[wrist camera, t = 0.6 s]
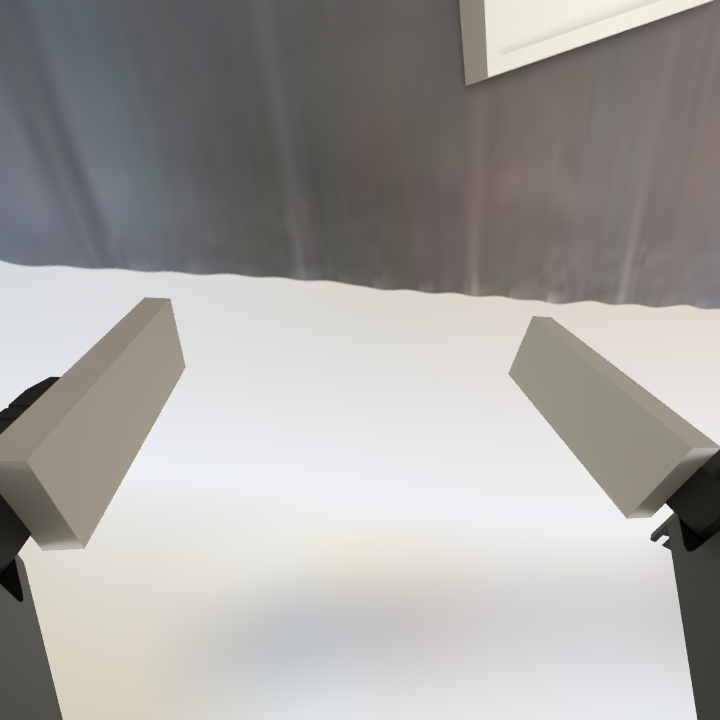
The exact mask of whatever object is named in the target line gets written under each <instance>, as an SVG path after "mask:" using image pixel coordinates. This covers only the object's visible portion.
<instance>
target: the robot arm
mask: <svg viewBox="0 0 720 720" xmlns="http://www.w3.org/2000/svg"><path fill="white" fill-rule="evenodd" d="M184 369H185V364H184V359H183V354H182V350H181V345H180V341H179V336H178V331H177V327H176V322H175V318H174V313H173V309H172V304H171V300H170V299H165V298H144V299H143V300H142V301H141V302H140V303H139V304H138V305H137V306H136V307H135V308H133V309H132V310H131V311H130V312H129V313H128V314H127V315H126V316H125V317H124V318H123V319H122V320H121V321H120V322H119V323H118V324H117V325H116V326H114V327H113V328H112V329H111V330H110V331H109V332H108V333H107V334H106V335H105V336H104V337H103V338H102V339H101V340H100V341H99V342H98V343H97V344H95V345H94V346H93V347H92V348H91V349H90V350H89V351H88V352H87V353H86V354H85V355H84V356H83V357H82V358H81V359H80V360H79V361H78V362H77V363H75V364H74V365H73V366H72V368H70V369H69V370H68V371H67V372H66V373H65V374H64V375H63V376H62V377H49V378H47V379H46V380H44V381H42V382H40V383H38V384H36V385H34V386H32V387H30V388H29V389H27V390H25V391H24V392H23V393H22V394H21V395H20V396H18V397H17V398H16V399H15V400H14V401H13V402H12V403H11V404H9V407H8V408H5V409H4V410H3V411H1V412H0V720H63V719H62V715H61V711H60V707H59V703H58V699H57V695H56V691H55V687H54V683H53V679H52V675H51V671H50V666H49V662H48V658H47V654H46V650H45V646H44V642H43V638H42V634H41V630H40V626H39V622H38V618H37V614H36V610H35V606H34V602H33V598H32V594H31V590H30V585H29V581H28V578H27V574H26V569H25V565H24V562H23V561H22V559H20V557H19V555H18V552H19V551H20V549H21V548H22V546H23V545H24V544H25V542H26V541H27V540H28V538H29V537H30V535H31V537H32V538H33V539H34V540H35V541H36V543H37V544H38V545H39V546H40V548H41V549H42V550H43V551H48V550H66V549H84V548H85V546H86V544H87V543H88V541H89V539H90V537H91V535H92V534H93V532H94V530H95V528H96V527H97V525H98V523H99V521H100V519H101V518H102V516H103V514H104V512H105V510H106V509H107V507H108V505H109V503H110V502H111V499H112V498H113V496H114V494H115V493H116V491H117V489H118V487H119V485H120V484H121V482H122V480H123V478H124V476H125V475H126V473H127V471H128V469H129V468H130V466H131V464H132V462H133V460H134V459H135V457H136V455H137V453H138V451H139V450H140V448H141V446H142V444H143V442H144V441H145V439H146V437H147V435H148V434H149V432H150V430H151V428H152V426H153V425H154V423H155V421H156V419H157V417H158V416H159V414H160V412H161V410H162V408H163V407H164V405H165V403H166V401H167V400H168V398H169V396H170V394H171V392H172V391H173V389H174V387H175V385H176V383H177V382H178V380H179V378H180V376H181V374H182V373H183V371H184ZM509 375H510V376H511V377H512V379H513V380H514V381H515V382H516V384H517V385H518V386H519V387H520V389H521V390H522V391H523V392H524V393H525V395H526V396H527V397H528V398H529V400H530V401H531V402H532V403H533V404H534V406H535V407H536V408H537V409H538V410H539V412H540V413H541V414H542V415H543V417H544V418H545V419H546V420H547V422H548V423H549V424H550V425H551V426H552V427H553V429H554V430H555V431H556V433H557V434H558V435H559V436H560V438H561V439H562V440H563V441H564V442H565V444H566V445H567V446H568V447H569V449H570V450H571V451H572V452H573V453H574V455H575V456H576V457H577V458H578V460H579V461H580V462H581V463H582V464H583V466H584V467H585V468H586V469H587V470H588V472H589V473H590V474H591V475H592V477H593V478H594V479H595V480H596V482H597V483H598V484H599V485H600V486H601V488H602V489H603V490H604V491H605V492H606V494H607V495H608V496H609V497H610V499H612V501H613V502H614V504H615V505H616V506H617V507H618V508H619V510H621V512H622V513H623V514H624V516H625V517H626V518H645V517H652V516H653V515H654V514H655V513H656V512H657V511H658V510H659V509H660V508H661V507H662V506H663V505H664V504H665V503H666V504H667V505H668V506H669V507H670V508H671V509H672V510H673V511H674V513H673V514H672V515H671V516H670V517H669V518H668V519H667V520H666V521H665V522H664V523H663V524H662V525H661V526H660V527H659V528H658V529H656V531H654V532H653V533H652V535H651V540H652V541H654V542H656V541H657V540H658V539H659V538H660V537H661V536H662V535H665V536H669V539H668V540H667V541H666V542H665V543H664V544H663V546H664V547H666V548H668V549H670V550H671V552H672V559H673V564H674V571H675V578H676V584H677V591H678V597H679V603H680V610H681V617H682V623H683V629H684V636H685V642H686V649H687V655H688V662H689V668H690V674H691V681H692V687H693V694H694V700H695V707H696V713H697V719H698V720H720V446H719V445H717V444H716V443H715V442H713V441H712V440H711V439H709V438H708V437H707V436H705V435H704V434H703V433H702V432H700V431H699V430H698V429H696V428H695V427H694V426H692V425H691V424H690V423H689V422H687V421H686V420H685V419H683V418H682V417H681V416H679V415H678V414H677V413H675V412H674V411H673V410H671V409H670V408H669V407H668V406H666V405H665V404H663V403H662V402H661V401H660V400H658V399H657V398H656V397H654V396H653V395H652V394H651V393H649V392H648V391H647V390H645V389H644V388H643V387H641V386H640V385H639V384H637V383H636V382H635V381H634V380H632V379H631V378H630V377H628V376H627V375H626V374H624V373H623V372H622V371H620V370H619V369H618V368H617V367H615V366H614V365H613V364H611V363H610V362H609V361H607V360H606V359H605V358H603V357H602V356H601V355H600V354H598V353H597V352H596V351H594V350H593V349H592V348H590V347H589V346H588V345H586V344H585V343H584V342H582V341H581V340H580V339H579V338H577V337H576V336H575V335H573V334H572V333H571V332H569V331H568V330H567V329H565V328H564V327H563V326H562V325H560V324H559V323H558V322H556V321H555V320H554V319H552V318H551V317H536V316H533V317H532V320H531V322H530V324H529V327H528V329H527V331H526V334H525V336H524V338H523V341H522V343H521V345H520V348H519V350H518V352H517V355H516V357H515V360H514V362H513V364H512V366H511V369H510V371H509Z"/></svg>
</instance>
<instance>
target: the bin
mask: <svg viewBox="0 0 720 720" xmlns="http://www.w3.org/2000/svg"><path fill="white" fill-rule="evenodd" d="M712 1H714V0H459V7H460V20H461V33H462V46H463V59H464V72H465V85H466V86H468V85H471V84H474V83H476V82H479V81H482V80H485V79H488V78H491V77H494V76H497V75H500V74H503V73H506V72H508V71H511V70H514V69H517V68H520V67H523V66H526V65H529V64H532V63H535V62H538V61H540V60H543V59H546V58H549V57H552V56H555V55H558V54H561V53H564V52H567V51H570V50H572V49H575V48H578V47H581V46H584V45H587V44H590V43H593V42H596V41H599V40H602V39H604V38H607V37H610V36H613V35H616V34H619V33H622V32H625V31H628V30H631V29H634V28H636V27H639V26H642V25H645V24H648V23H651V22H654V21H657V20H660V19H663V18H666V17H668V16H671V15H674V14H677V13H680V12H683V11H686V10H689V9H692V8H695V7H698V6H700V5H703V4H706V3H709V2H712Z"/></svg>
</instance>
